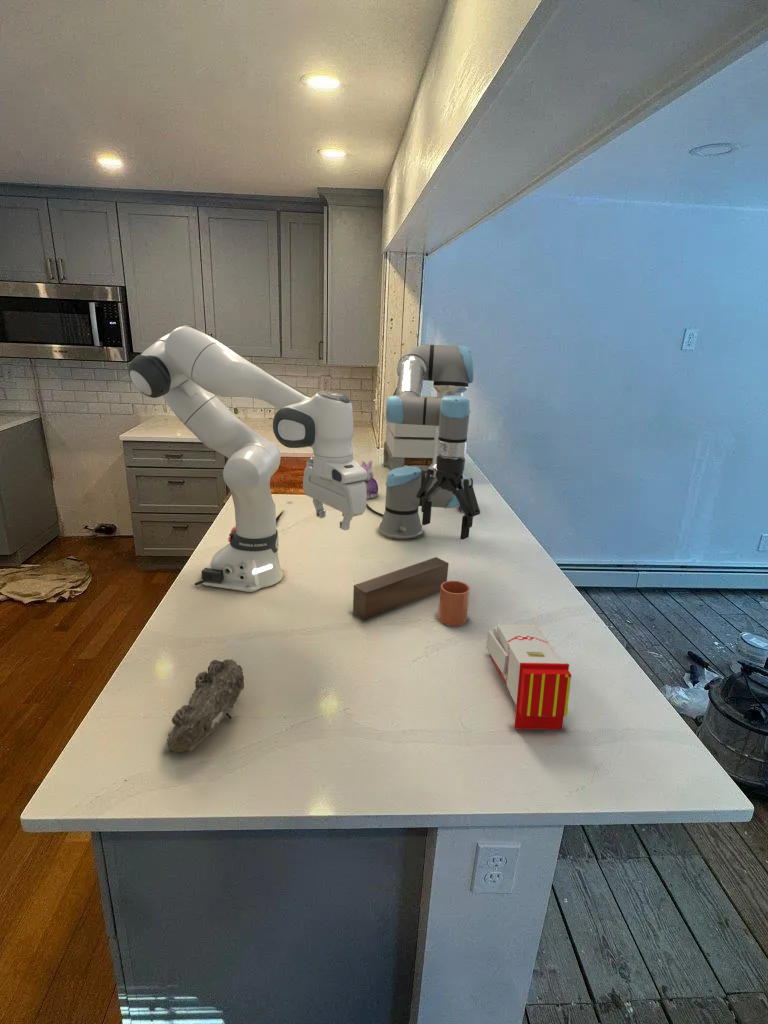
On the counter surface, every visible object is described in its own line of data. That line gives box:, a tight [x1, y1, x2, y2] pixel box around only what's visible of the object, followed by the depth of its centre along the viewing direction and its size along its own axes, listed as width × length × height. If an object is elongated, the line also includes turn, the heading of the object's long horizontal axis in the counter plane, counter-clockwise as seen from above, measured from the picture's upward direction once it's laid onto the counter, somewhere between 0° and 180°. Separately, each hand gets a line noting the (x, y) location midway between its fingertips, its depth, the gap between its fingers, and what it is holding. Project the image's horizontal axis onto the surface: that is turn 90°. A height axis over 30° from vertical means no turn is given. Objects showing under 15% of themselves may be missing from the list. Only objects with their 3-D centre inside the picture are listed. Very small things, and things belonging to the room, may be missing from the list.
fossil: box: [166, 658, 245, 754], centre depth 106 cm, size 22×10×15 cm
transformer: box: [383, 387, 437, 472], centre depth 268 cm, size 34×33×41 cm
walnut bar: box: [352, 556, 450, 621], centre depth 153 cm, size 5×30×8 cm, turn 131°
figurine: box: [361, 460, 379, 500], centre depth 236 cm, size 9×10×15 cm
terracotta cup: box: [437, 580, 471, 627], centre depth 145 cm, size 7×7×9 cm
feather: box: [276, 509, 284, 524], centre depth 213 cm, size 2×28×2 cm
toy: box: [485, 623, 572, 730], centre depth 120 cm, size 12×13×30 cm
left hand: (332, 522), depth 132 cm, fingers open, 8 cm apart
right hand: (444, 531), depth 157 cm, fingers open, 13 cm apart
